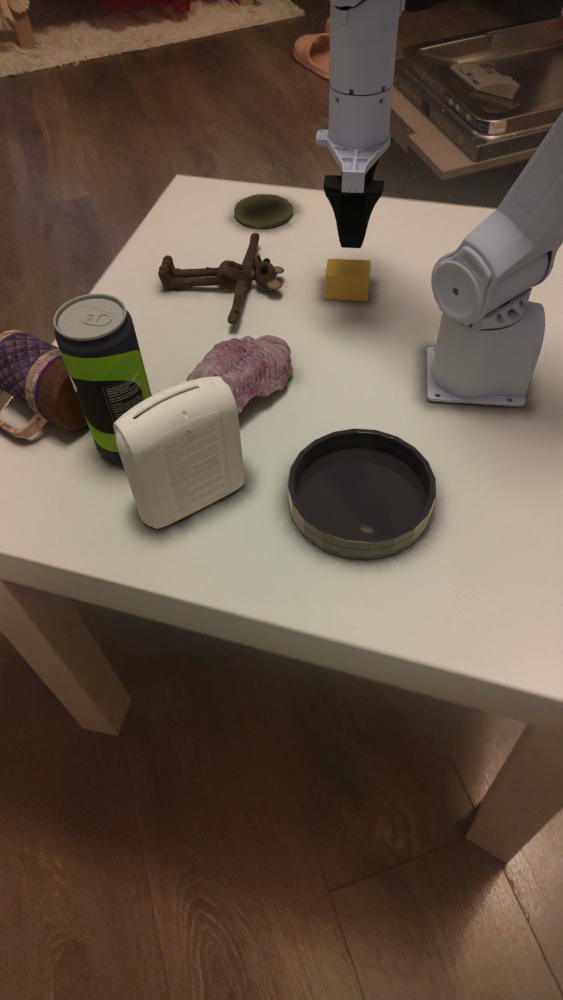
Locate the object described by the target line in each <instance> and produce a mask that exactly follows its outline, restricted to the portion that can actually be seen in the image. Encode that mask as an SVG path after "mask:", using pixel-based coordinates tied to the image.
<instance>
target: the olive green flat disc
mask: <svg viewBox="0 0 563 1000" xmlns="http://www.w3.org/2000/svg"><path fill="white" fill-rule="evenodd" d="M233 213H234V217H235V218H236V219H237V221H238V222H239V223H240V224H242V225H244V226H246V227H248V228H252V229H269V228H272V227H274V226H275V227H276V226H279V225H281V224H283V223H285V222H286V221H288V220H289V219H290V218H291V217H292V215H293V213H294V206H293V204H292V203H291V202H290V201H289V200H288V199H287V198H284V197H282V196H279V195H278V194H271V193H270V194H269V193H268V194H267V193H265V194H264V193H260V194H252V195H249V196H247V197H245V198H242V199H240V200H239V201H238V202H237V203H236V204H235V205H234V208H233Z"/></svg>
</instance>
